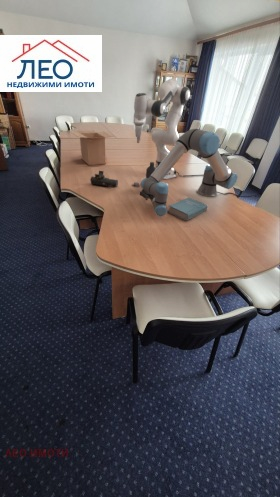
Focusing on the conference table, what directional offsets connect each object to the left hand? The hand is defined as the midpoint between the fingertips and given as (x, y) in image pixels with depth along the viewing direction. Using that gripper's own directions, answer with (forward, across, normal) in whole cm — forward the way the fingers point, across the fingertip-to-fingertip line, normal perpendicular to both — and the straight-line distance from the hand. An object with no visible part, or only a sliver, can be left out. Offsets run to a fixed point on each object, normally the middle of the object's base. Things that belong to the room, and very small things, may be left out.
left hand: (138, 141), depth 167 cm
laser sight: (+34, +6, -26) cm, 44 cm away
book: (+34, +42, +38) cm, 67 cm away
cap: (+32, 0, 0) cm, 33 cm away
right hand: (+28, +23, +13) cm, 38 cm away
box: (+34, -61, -50) cm, 86 cm away
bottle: (+34, +14, +12) cm, 39 cm away
